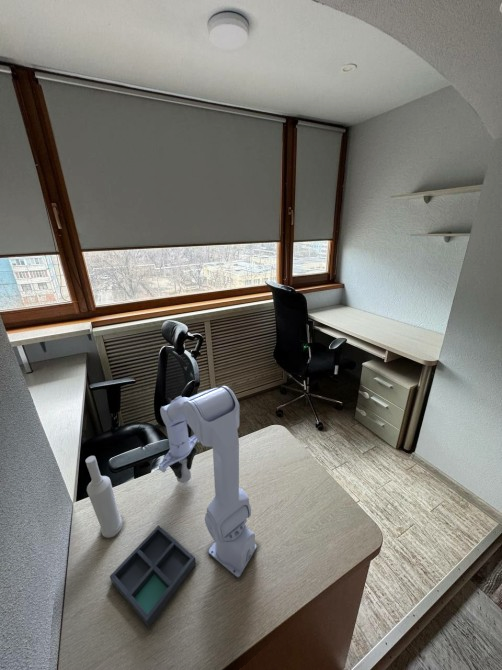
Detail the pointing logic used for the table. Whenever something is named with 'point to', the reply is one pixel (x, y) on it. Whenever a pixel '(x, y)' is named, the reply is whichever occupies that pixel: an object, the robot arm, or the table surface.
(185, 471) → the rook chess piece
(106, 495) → the bottle
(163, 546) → the tray
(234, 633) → the table surface
